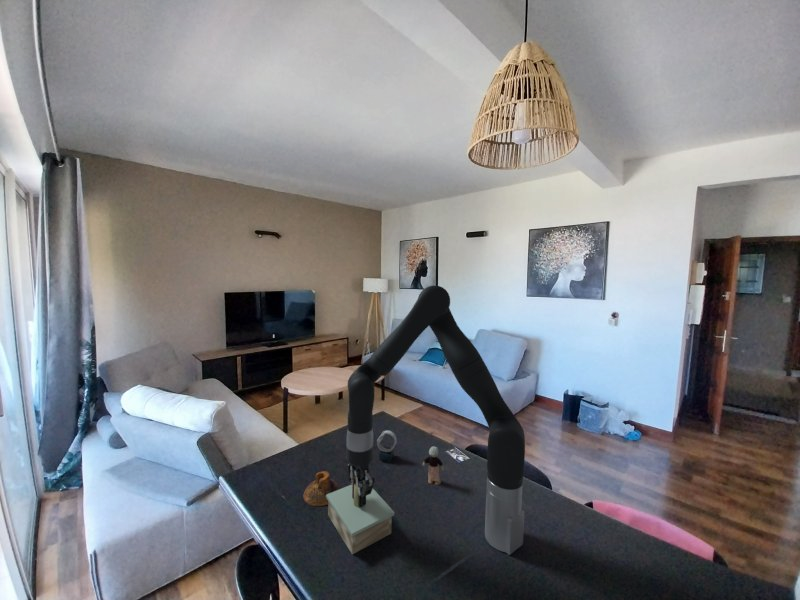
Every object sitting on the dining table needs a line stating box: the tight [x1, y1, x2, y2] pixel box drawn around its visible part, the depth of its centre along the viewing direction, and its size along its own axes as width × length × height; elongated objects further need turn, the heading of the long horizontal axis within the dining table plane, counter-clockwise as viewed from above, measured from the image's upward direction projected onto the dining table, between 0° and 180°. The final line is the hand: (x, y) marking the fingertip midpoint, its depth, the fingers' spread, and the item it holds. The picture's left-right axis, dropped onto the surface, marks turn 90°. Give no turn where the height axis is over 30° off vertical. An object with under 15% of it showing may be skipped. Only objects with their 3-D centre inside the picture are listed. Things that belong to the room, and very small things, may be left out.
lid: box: [326, 480, 395, 536], centre depth 89 cm, size 17×13×6 cm
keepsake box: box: [327, 501, 393, 555], centre depth 89 cm, size 16×12×6 cm
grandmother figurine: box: [422, 446, 445, 486], centre depth 109 cm, size 8×4×13 cm, turn 84°
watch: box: [376, 429, 398, 464], centre depth 123 cm, size 6×8×11 cm
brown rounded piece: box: [302, 470, 341, 507], centre depth 101 cm, size 12×12×7 cm
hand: (359, 501), depth 89 cm, fingers closed on lid, 3 cm apart
